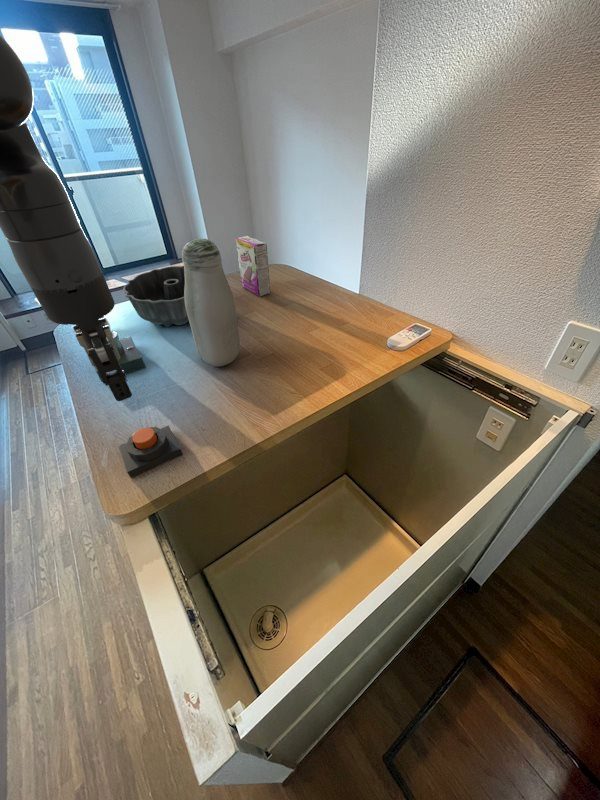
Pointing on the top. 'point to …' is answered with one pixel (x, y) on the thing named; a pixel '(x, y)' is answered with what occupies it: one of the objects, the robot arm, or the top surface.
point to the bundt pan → (159, 295)
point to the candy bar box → (253, 265)
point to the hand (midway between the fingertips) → (120, 387)
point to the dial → (117, 343)
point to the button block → (150, 452)
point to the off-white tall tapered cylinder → (210, 303)
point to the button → (144, 438)
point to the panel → (128, 357)
